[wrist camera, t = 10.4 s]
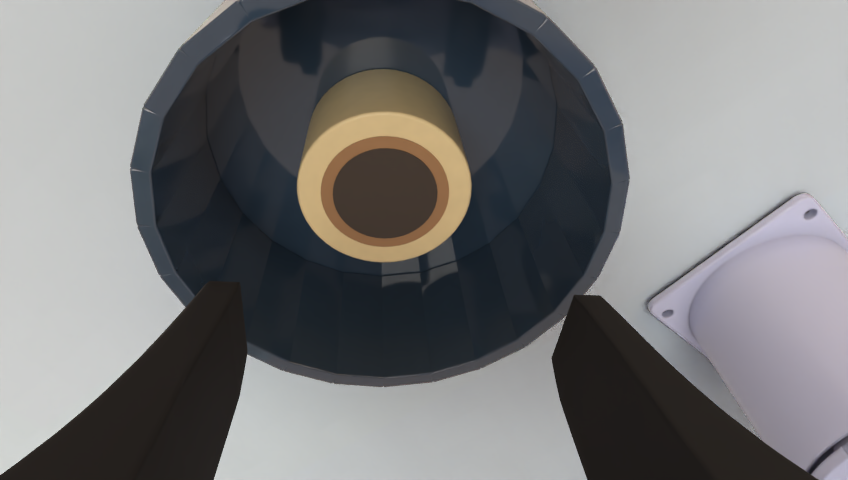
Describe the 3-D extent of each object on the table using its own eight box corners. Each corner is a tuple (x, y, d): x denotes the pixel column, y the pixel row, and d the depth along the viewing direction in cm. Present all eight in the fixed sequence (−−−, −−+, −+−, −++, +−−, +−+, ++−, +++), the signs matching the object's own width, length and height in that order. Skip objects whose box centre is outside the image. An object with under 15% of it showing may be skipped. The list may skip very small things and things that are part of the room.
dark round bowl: (637, 111, 20) (722, 198, 15) (406, 319, 25) (414, 432, 20) (348, -190, 14) (334, -206, 9) (127, 157, 20) (46, 262, 15)
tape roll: (487, 132, 19) (508, 184, 16) (393, 227, 21) (396, 289, 18) (371, 33, 17) (370, 74, 14) (278, 151, 19) (261, 207, 16)
